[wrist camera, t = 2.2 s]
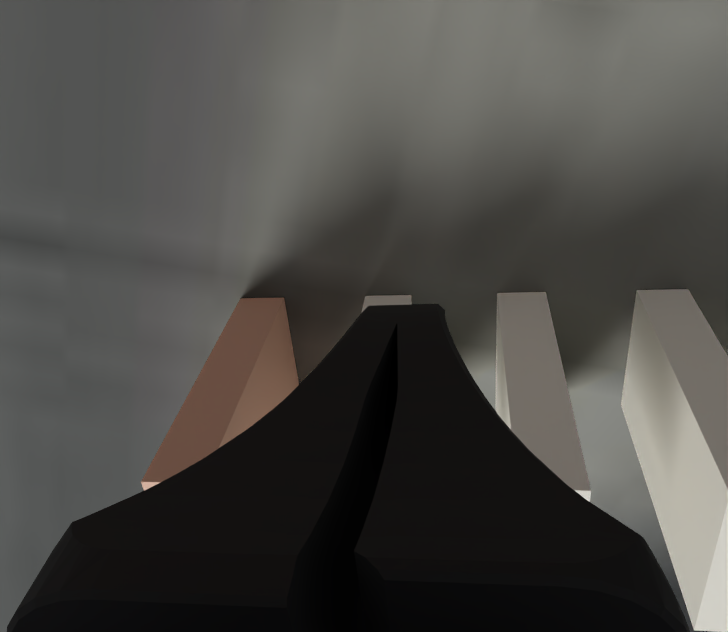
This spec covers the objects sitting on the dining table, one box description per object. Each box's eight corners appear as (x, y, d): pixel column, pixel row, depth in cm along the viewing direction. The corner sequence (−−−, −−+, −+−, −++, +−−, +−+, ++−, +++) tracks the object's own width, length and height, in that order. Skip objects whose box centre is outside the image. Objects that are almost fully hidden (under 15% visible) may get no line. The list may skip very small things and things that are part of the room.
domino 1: (284, 297, 24) (203, 483, 16) (302, 404, 26) (240, 608, 19) (240, 298, 24) (141, 481, 17) (262, 404, 27) (185, 606, 19)
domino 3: (688, 288, 22) (810, 496, 14) (667, 405, 24) (762, 633, 17) (636, 289, 22) (729, 493, 15) (621, 405, 25) (694, 630, 17)
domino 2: (545, 292, 23) (590, 490, 15) (539, 404, 25) (575, 624, 18) (496, 292, 23) (517, 488, 15) (495, 404, 25) (512, 621, 18)
